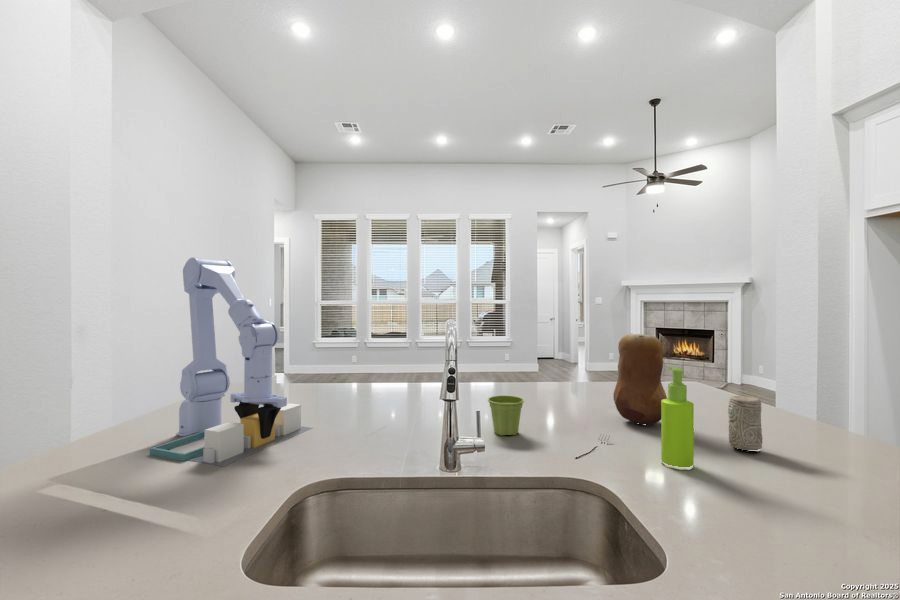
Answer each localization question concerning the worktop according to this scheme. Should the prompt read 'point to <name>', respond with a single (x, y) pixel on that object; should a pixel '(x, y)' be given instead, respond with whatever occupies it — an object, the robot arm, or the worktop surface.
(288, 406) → the block
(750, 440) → the carving
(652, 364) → the butternut squash
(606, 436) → the fork
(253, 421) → the yellow rectangular block
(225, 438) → the block
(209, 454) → the board
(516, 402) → the plant pot
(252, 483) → the worktop surface
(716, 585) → the worktop surface
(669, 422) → the soap dispenser
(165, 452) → the tray
